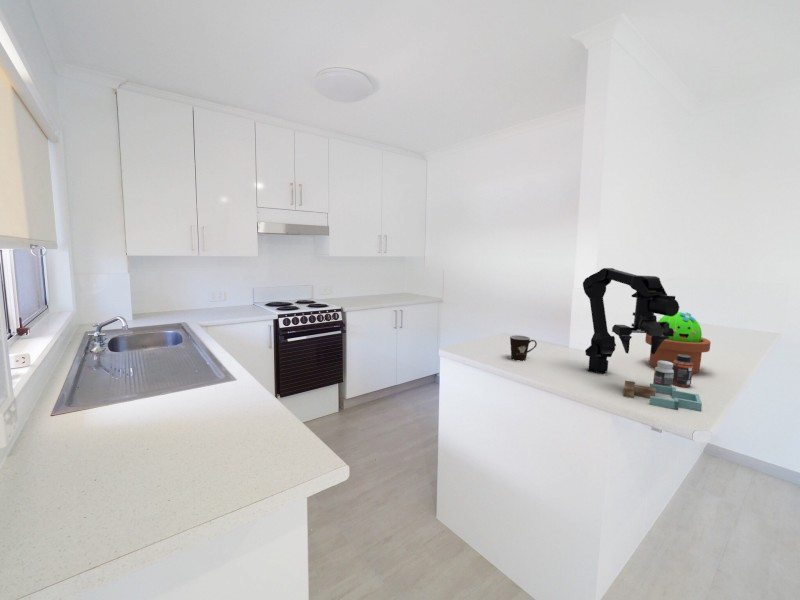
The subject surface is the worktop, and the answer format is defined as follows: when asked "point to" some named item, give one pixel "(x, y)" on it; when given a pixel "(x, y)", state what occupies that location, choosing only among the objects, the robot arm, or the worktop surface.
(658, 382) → the pill bottle
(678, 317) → the potted cactus
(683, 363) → the supplement bottle
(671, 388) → the teal angular frame
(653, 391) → the t block
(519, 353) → the coffee mug
